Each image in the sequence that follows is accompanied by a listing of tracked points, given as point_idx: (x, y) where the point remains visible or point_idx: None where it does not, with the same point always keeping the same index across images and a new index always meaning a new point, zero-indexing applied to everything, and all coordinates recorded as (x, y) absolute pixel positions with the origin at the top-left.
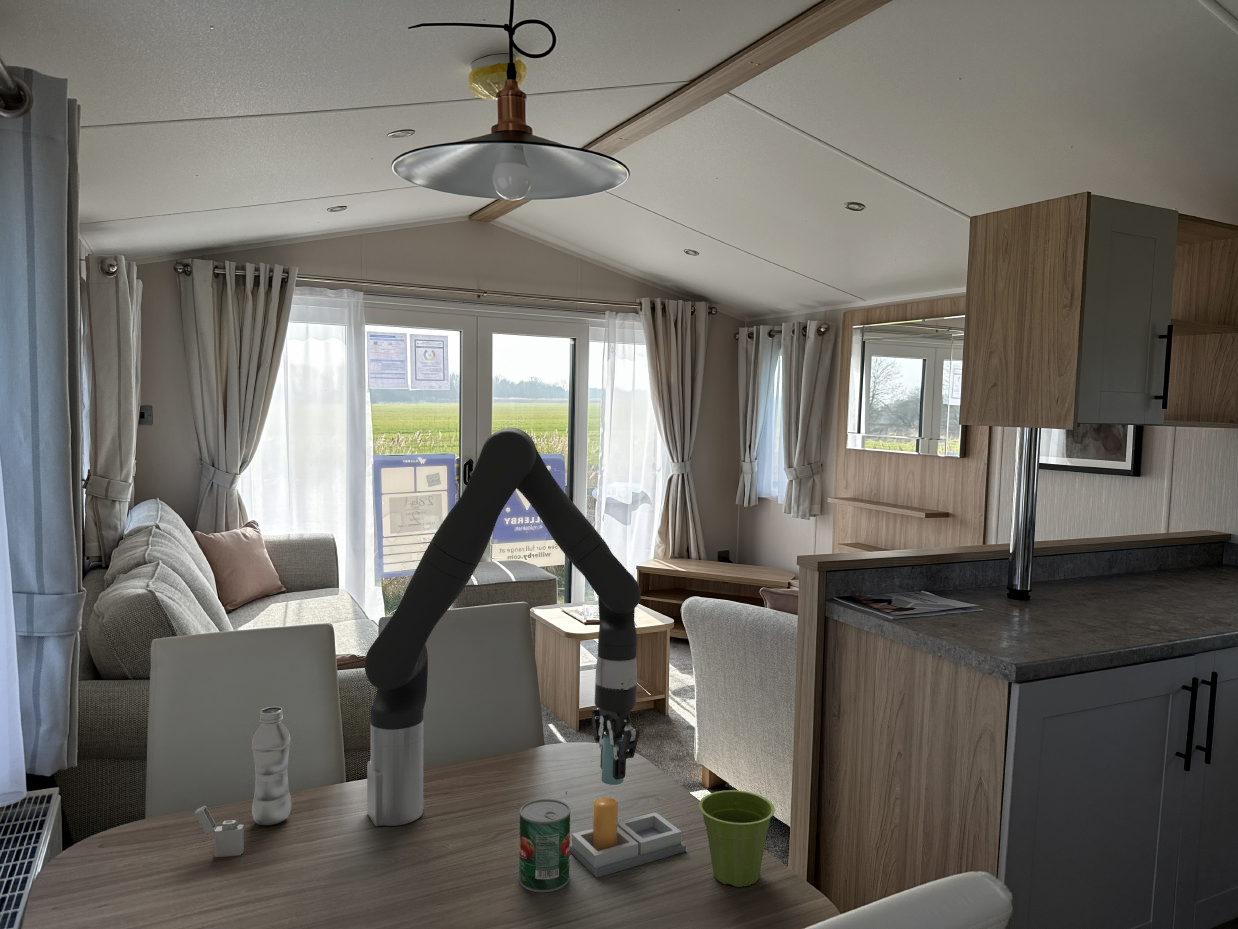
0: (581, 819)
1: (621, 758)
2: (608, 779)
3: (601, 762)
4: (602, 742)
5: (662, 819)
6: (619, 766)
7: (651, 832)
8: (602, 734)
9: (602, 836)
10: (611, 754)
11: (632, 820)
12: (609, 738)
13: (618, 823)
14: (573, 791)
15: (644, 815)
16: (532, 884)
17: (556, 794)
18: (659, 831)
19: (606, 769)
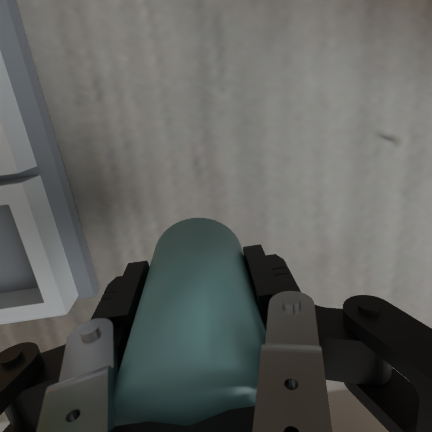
0: (201, 119)
1: (8, 354)
2: (162, 240)
3: (257, 257)
4: (271, 328)
5: (15, 315)
6: (97, 313)
7: (27, 268)
8: (258, 378)
9: None
10: (136, 321)
11: (26, 235)
12: (174, 400)
13: (12, 186)
14: (384, 161)
15: (52, 279)
16: None
17: (392, 102)
18: (29, 288)
19: (169, 252)
